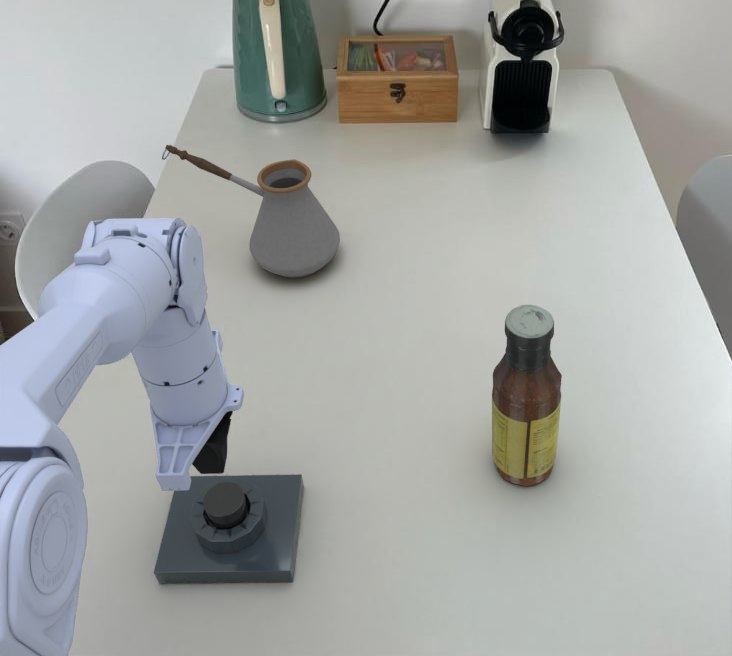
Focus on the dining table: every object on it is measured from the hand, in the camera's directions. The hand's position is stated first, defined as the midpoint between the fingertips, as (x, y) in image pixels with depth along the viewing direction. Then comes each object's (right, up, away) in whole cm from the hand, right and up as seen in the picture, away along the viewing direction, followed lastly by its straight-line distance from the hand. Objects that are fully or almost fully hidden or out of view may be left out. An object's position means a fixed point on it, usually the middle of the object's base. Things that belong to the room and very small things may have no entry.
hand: (213, 466), depth 68 cm
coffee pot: (-2, +20, +37) cm, 42 cm away
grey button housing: (0, -8, +7) cm, 10 cm away
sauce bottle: (+28, -2, +12) cm, 30 cm away
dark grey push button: (0, -5, +5) cm, 7 cm away
